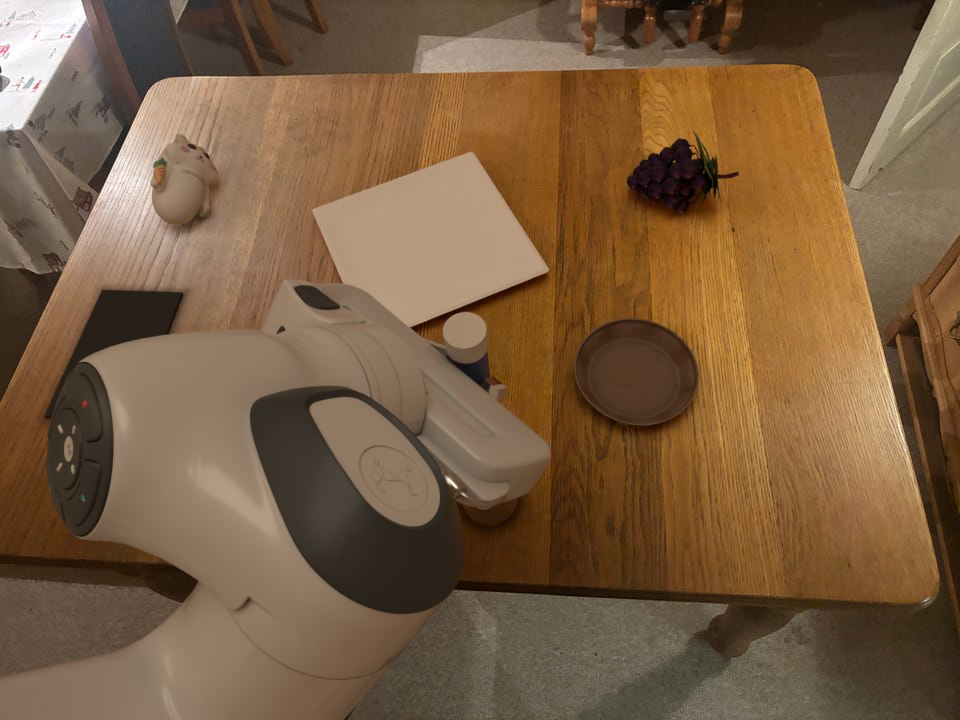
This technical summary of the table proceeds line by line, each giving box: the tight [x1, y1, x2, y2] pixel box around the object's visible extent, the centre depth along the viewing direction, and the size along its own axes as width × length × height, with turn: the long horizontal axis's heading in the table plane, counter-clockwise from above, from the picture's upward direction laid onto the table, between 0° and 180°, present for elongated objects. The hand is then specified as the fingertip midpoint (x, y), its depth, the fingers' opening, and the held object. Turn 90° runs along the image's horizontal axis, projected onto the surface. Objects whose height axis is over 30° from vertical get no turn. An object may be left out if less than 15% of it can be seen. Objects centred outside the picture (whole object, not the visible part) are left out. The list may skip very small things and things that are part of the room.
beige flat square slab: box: [311, 151, 550, 328], centre depth 94 cm, size 26×26×2 cm
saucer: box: [573, 317, 700, 426], centre depth 81 cm, size 15×15×3 cm
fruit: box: [626, 129, 740, 214], centre depth 92 cm, size 10×11×15 cm
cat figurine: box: [149, 133, 220, 226], centre depth 99 cm, size 10×8×15 cm
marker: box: [442, 311, 491, 385], centre depth 52 cm, size 3×3×17 cm
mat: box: [44, 289, 184, 419], centre depth 89 cm, size 20×12×1 cm, turn 175°
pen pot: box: [462, 498, 518, 527], centre depth 72 cm, size 6×6×8 cm
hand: (477, 374), depth 51 cm, fingers closed on marker, 3 cm apart
